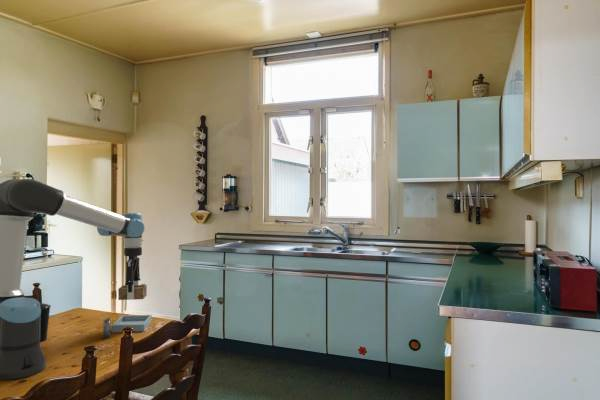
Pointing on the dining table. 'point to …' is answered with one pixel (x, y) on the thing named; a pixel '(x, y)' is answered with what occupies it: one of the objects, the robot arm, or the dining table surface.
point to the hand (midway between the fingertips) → (132, 297)
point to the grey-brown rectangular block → (139, 292)
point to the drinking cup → (43, 319)
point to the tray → (132, 323)
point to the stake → (107, 328)
